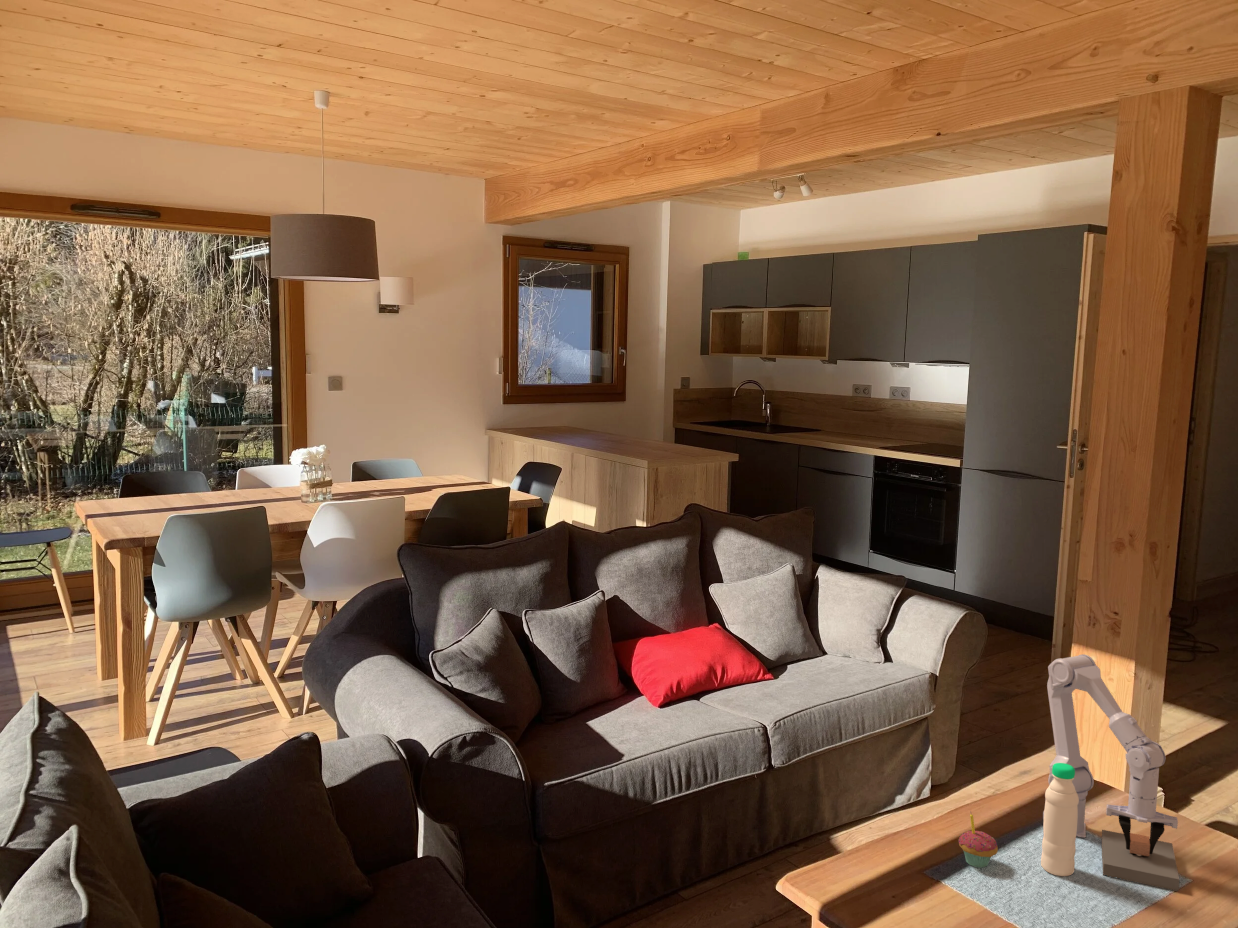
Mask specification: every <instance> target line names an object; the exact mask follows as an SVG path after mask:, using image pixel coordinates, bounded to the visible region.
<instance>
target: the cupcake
mask: <svg viewBox="0 0 1238 928" xmlns="http://www.w3.org/2000/svg"><path fill="white" fill-rule="evenodd" d="M969 816H970V826H971V827H970V828H971V830H968V831H965V832H963V833H962V834H961V835H960V836H959V837H958V845H959V847H960V848H961V849H962V851H963V853H964V857H965V862H966V863H967V864H968V865H969V866H971V867H975V868H978V869H979V868H980V869H981V868H986V867H987V866H989V863H990V861H991V859H992V857H993V856H995V855H997V854H998V850H999V848H998V843H997V840H996V839H995V838H994V837H992V836H991V835H990V834H988V833H986V832H984V831H980V830H975V829H976V828H975V822H974V814H972V811H970V815H969Z"/></svg>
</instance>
